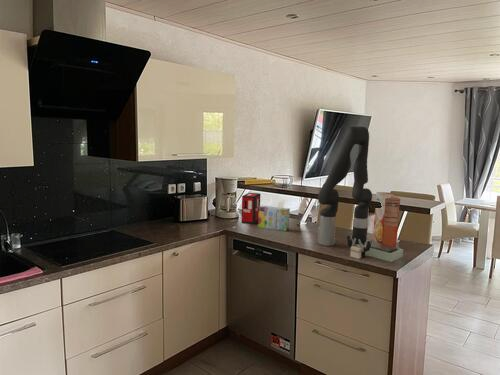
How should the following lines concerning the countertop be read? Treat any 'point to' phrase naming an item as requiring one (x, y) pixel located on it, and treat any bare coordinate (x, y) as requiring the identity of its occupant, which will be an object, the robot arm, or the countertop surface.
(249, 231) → the countertop surface
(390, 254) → the tote
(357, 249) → the cream carton
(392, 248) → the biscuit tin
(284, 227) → the snack box
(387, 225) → the orange tall flat container
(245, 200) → the cleaning product box
